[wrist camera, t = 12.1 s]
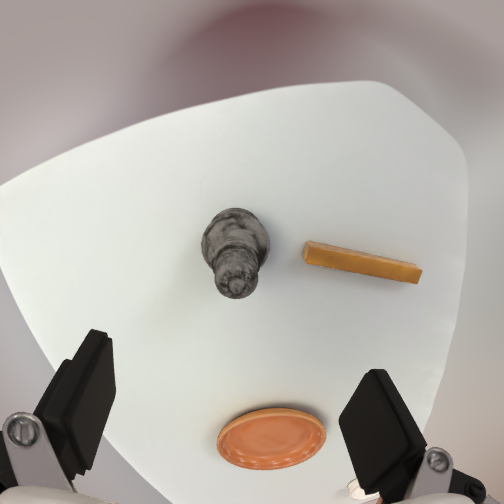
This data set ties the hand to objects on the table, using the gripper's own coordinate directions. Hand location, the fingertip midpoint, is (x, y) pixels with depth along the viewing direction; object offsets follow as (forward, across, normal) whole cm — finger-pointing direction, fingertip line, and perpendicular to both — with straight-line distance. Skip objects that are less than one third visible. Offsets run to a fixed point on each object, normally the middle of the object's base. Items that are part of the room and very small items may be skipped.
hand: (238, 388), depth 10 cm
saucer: (+20, -11, +30) cm, 38 cm away
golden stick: (+20, -14, +1) cm, 25 cm away
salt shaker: (+21, 0, +1) cm, 21 cm away
